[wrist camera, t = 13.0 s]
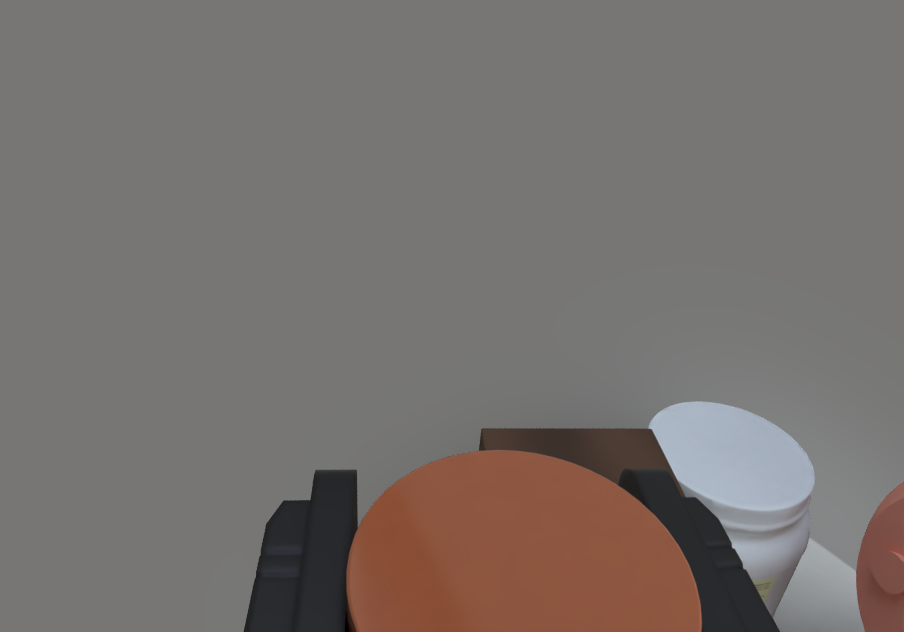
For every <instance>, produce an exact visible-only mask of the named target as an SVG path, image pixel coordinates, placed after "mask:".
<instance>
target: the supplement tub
mask: <svg viewBox="0 0 904 632" xmlns="http://www.w3.org/2000/svg"><path fill="white" fill-rule="evenodd" d="M648 429H652V430H653V432H654V434H655V436H656V438H657V440H658V442H659V444H660V446H661V448H662V450H663V452H664V454H665V456H666V458H667V460H668V462H669V464H670V466H671V468H672V470H673V472H674V474H675V476H676V478H677V480H678V482H679V484H680V486H681V488H682V490H683V492H684V494H685V496H686V497H696V498H697V499H698V500H699V501H700V502H702V503H703V504H704V505H705V506H706V507H707V508H708V509H709V510H710V511H711V512H712V513H713V514H714V515H715V516H716V517H717V518H718V519H719V520H720V522H721V524H722V526H723V528H724V530H725V531H726V533H727V535H728V537H729V539H730V541H731V542H732V548H733V549H734V548H735V550H736V552H737V554H738V555H739V557H740V559H741V561H742V563H743V568H744V569H746V570H747V572H748V574H749V576H750V578H751V579H752V581H753V583H754V585H755V587H756V589H757V591H758V592H759V594H760V596H761V598H762V600H763V602H764V603H765V605H766V607H767V609H768V611H769V613H770V615H771V616H772V617H773V615H774V613H775V611H776V609H777V607H778V605H779V603H780V601H781V599H782V596H783V594H784V592H785V590H786V588H787V586H788V584H789V582H790V580H791V578H792V575H793V573H794V571H795V569H796V567H797V565H798V563H799V561H800V558H801V556H802V555H803V553H804V552H805V550H806V547H807V544H808V539H809V535H810V514H809V510H808V507H809V504H810V500H811V492H812V490H813V487H814V483H815V473H814V469H813V466H812V463H811V461H810V459H809V457H808V456H807V454H806V453H805V451H804V450H803V449H802V447H801V446H800V445H799V444H798V443H797V442H796V441H795V440H794V439H793V438H792V437H791V436H790V435H788V434H787V433H786V432H784V431H783V430H782V429H780V428H779V427H777V426H776V425H774V424H773V423H771V422H769V421H768V420H766V419H764V418H762V417H760V416H758V415H756V414H753V413H750V412H748V411H746V410H743V409H740V408H736V407H733V406H728V405H724V404H719V403H713V402H700V401H698V402H684V403H679V404H675V405H672V406H669V407H667V408H665V409H664V410H662V411H660V412H659V413H657V414H656V416H655V417H654V418H653V419H652V420H651V422H650V424H649V427H648Z"/></svg>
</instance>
